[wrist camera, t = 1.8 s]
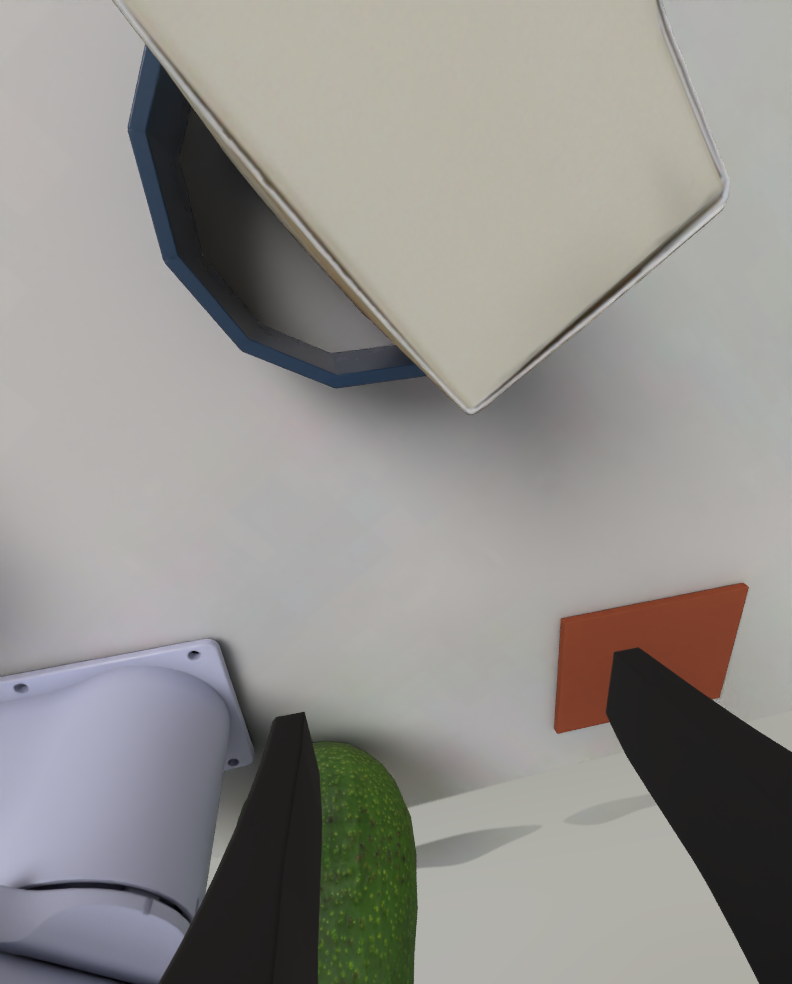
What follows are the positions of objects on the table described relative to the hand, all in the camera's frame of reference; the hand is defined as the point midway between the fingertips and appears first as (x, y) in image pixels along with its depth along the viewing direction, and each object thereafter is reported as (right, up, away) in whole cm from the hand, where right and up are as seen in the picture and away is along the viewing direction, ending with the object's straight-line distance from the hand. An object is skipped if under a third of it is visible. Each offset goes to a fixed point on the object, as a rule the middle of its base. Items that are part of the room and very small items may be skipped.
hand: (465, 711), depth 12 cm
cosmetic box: (-3, +15, +4) cm, 15 cm away
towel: (+12, -4, +16) cm, 20 cm away
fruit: (-6, -9, +15) cm, 18 cm away
